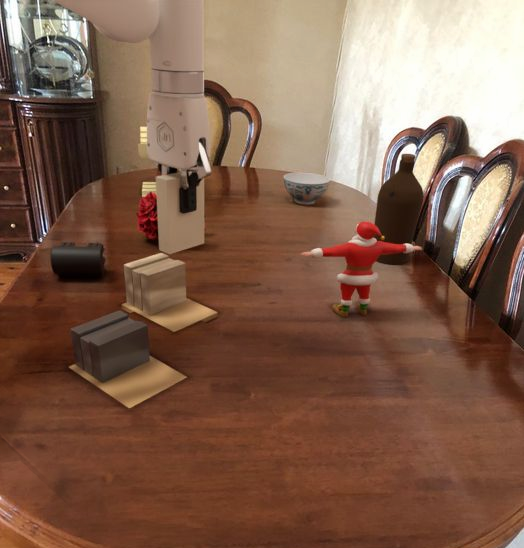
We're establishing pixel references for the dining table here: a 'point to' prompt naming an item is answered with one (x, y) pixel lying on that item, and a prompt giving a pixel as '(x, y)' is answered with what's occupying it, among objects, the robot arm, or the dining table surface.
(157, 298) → the cream book stand
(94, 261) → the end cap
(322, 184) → the chinaware
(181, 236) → the cream book
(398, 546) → the dining table surface
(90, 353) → the grey book stand
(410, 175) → the olive oil
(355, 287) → the santa figurine
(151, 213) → the carnation
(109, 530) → the dining table surface
